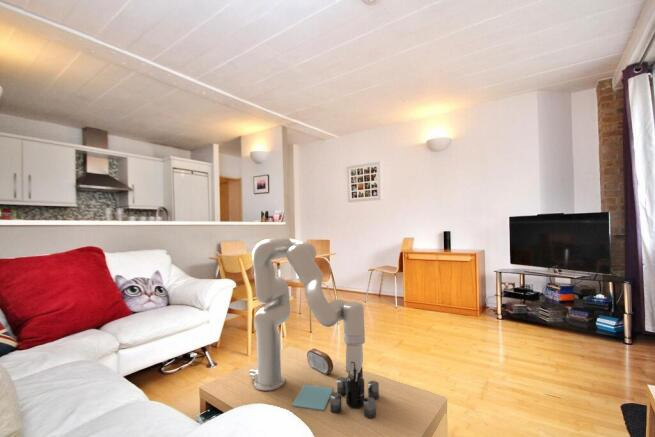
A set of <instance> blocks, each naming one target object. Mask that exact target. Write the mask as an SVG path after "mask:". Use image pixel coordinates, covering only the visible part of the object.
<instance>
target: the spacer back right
mask: <svg viewBox="0 0 655 437" xmlns="http://www.w3.org/2000/svg"><path fill="white" fill-rule="evenodd" d="M379 389H380V388H379V382H378V381H375V380H369V381H368V382H367V397H372V398H374V399H375V400H376V401H377V400H379V399H380V393H379V392H380V390H379Z"/></svg>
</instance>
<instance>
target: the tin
mask: <svg viewBox="0 0 655 437" xmlns="http://www.w3.org/2000/svg"><path fill="white" fill-rule="evenodd" d="M306 357H307V358H306V359H307V362H308V365H309V366H310V367H311V368H312V369H314V370H315V371H317V372H319V373H321V374H323V375H328V374H330V373H332V372H333V370H334V364H333V360H332V358H331V356H329V354H327V353H326V352H324V351H322V350H319V349H317V348H312V349H310V350H308V351H307V354H306Z"/></svg>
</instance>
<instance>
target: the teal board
mask: <svg viewBox="0 0 655 437" xmlns="http://www.w3.org/2000/svg"><path fill="white" fill-rule="evenodd" d="M333 391H334V388H333V387H326V386H319V385H311V384H304V385H303V386H302V387H301V390H300V391H299V392H298V394H297V396H296V398H295V399H294V401H293V402H292V404H291V407H293V408H300V409H306V410H314V411H322V412H325V410H326V407H327V405H328V402H330V395H331V394H332V393H333Z"/></svg>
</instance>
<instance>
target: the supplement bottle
mask: <svg viewBox="0 0 655 437" xmlns="http://www.w3.org/2000/svg"><path fill="white" fill-rule="evenodd" d="M354 371H356V370H354ZM362 371H363V370H362ZM362 371H361V370H360V372H359V373H358V378H357V380H358V385H359V392H358V393H356V392H350V391H349V374H350V371H349V372H348V373H347V377H345V378H346V395H345V404H346V405H347V406H348V407H349V408H351V409H360V408H362V407H364V399H365V398H366V397H365V391H366V390H365V379H364V376H363V377H362ZM354 376H355V378H356V374H354Z"/></svg>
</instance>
